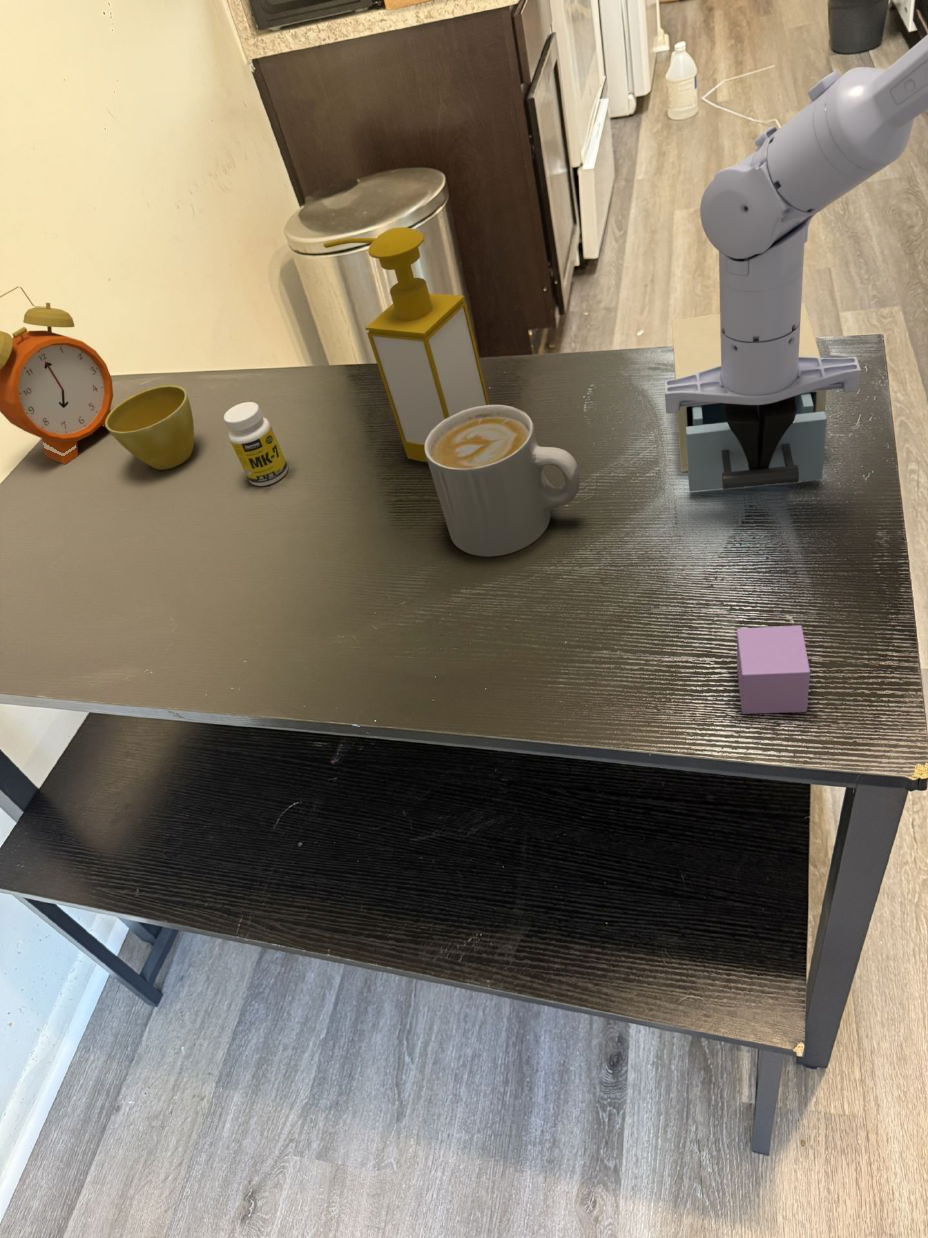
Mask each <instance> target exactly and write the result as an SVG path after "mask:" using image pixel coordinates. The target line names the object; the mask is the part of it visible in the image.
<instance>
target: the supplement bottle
mask: <svg viewBox="0 0 928 1238" xmlns="http://www.w3.org/2000/svg"><path fill="white" fill-rule="evenodd" d="M223 420H224V423H225V425H226V428H227V429H228V440H229V442H230V444H231V446H232V448H233V450H234V453H235V455H236V457H237V458H238V461H239V463H240V465H241V467H242V470H243V471H244V473H245V475H246V477H247V480H248V482H250V484H251V485H254V486H258V487H264V486H265V487H266V486H269V485H272V484H274V483H277V482H278V481H280V480H281V479H282V478H284V476H286V474H287V473H288V470H289V466H288V462H287V460H286V458H285V455H284V453H283V451H282V448H281V445H280V443H279V441H278V439H277V437H276V434H275V432H274V430H273V428H272V427H273V426H272V424H271V423H270V421H269V420H268V419H267V418H266V417H264V415H263V412H262V410H261V408H260V405H259V404H258V403H256V402H254V401H246V402H241V403H238V404H236V405H234V406H232V407H231V408H229V409H228V410H227V411H226V412H225V413H224V415H223Z"/></svg>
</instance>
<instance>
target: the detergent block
mask: <svg viewBox="0 0 928 1238" xmlns="http://www.w3.org/2000/svg"><path fill="white" fill-rule="evenodd" d="M808 657H809V656H808V652H807V646H806V641H805V636H804V630H803V626H802V625H801V624H799V625H798V624H797V625H781V626H763V627H745V628H744V627H741V628H737V629H736V673H737V680H738V690H739V698H740V708H741V713H742V714H743V715H751V714H753V715H754V714H781V713H782V714H783V713H784V714H785V713H787V714H788V713H807V712H808V706H809V705H808V704H809V693H810V692H809V691H810V679H811V667H810V664H809V663H810V661H809V658H808Z"/></svg>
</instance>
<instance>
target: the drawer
mask: <svg viewBox="0 0 928 1238" xmlns="http://www.w3.org/2000/svg"><path fill="white" fill-rule="evenodd" d="M795 402H796V406H797V413H796V417H795V419H794V422H793V423H792V424H791V425H790V427H789V428H788V429H787V431H786V432H785V433H784V435H783V436H782V438H781V440H780V442H779V443H778V445H777V447H776V449H775V452H774V454H773V456H772V459H771V462H770V465H769V468H764V469H754V470H749V468H748V462H747V459H746V456H745V453H744V451H743V449H742V447H741V445H740V443H739V441H738V439H737V438H736V436H735V435H734V433H733V432H732V431H731V429H730V427H729V425H728V423H727V421H726V415H725V407H724V403H715V404H706V405H698V406H690V411H691V423H692V426H689V427H686V440H687V460H688V471H687V472H688V473H687V475H688V476H687V477H688V478H687V479H688V490H689V492H698V491H709V490H720V489H722V490H731V489H741V488H750V487H751V488H752V487H761V486H771V485H784V484H793V483H794V484H795V483H799V482H804V481H815V480H822V479H823V472H824V460H825V447H826V434H827V422H828V418H827V415H826V411H825V412H824V411H823V412H814V413H813V402H812V398H811V394H810V392H809V393H803V394H799V395H796V396H795ZM757 412H758V418H759V411H758V405H757Z"/></svg>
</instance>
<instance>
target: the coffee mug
mask: <svg viewBox="0 0 928 1238" xmlns="http://www.w3.org/2000/svg"><path fill="white" fill-rule="evenodd" d="M535 431H536V430H535V426H534V423H533V421H532V419H531V417H530V415H528V414H527V413H526V412H525V411H524V410H521V409H519V408H517V407H514V406H510V405H505V404H490V405H485V406H478V407H473V408H470V409H467V410H463V411H461V412H458V413H456V414H454V415H452V416H450V417H448V418H446V419H445V420H443V421H442V422H441V423H439V424H438V425H437V426H436V427H435V428H434V429H433V430H432V431H431V432H430V434H429V435H428V437H427V439H426V442H425V454H426V458H427V461H428V462H427V464H428V468H429V471H430V474H431V478H432V481H433V484H434V487H435V491H436V494H437V497H438V501H439V504H440V507H441V511H442V513H443V516H444V520H445V523H446V527H447V530H448V533H449V537H450V540H451V542H452V543H453V544H454V545H455V547H457V548H458V549H459V550H461V551H463V552H465V553H467V554H469V555H472V556H477V557H500V556H505V555H508V554H512V553H515V552H518V551H521V550H523V549H525V548H527V547H528V546H530V545H531V544H533V543H534V542H536V541H537V540H538V539H539V538H540V537H542V535H543V534H544V533H545V531H546V530H547V528H548V527H549V523H550V520H551V510H552V509H555V508H559V507H561V506H565V505H566V504H568V503H570V502H572V501H573V500H574V499H575V497H576V496H577V494H578V492H579V489H580V481H581V478H580V477H581V475H580V469H579V466H578V463H577V461H576V459H575V458H574V457H573V456H572V454H570V452H568V451H567V450H565V449H562V448H559V447H553V446H540V445H538V441H537V437H536V432H535ZM545 466H554V467H556V468H558V469H559V470H560V471H561V473H562V475H563V477H564V483H565V484H564V486H562V487H561V486H560V487H557V486H555V485H553V484H552V483H550V481H549V480H548V478H547V476H546V473H545V469H544V467H545Z"/></svg>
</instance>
